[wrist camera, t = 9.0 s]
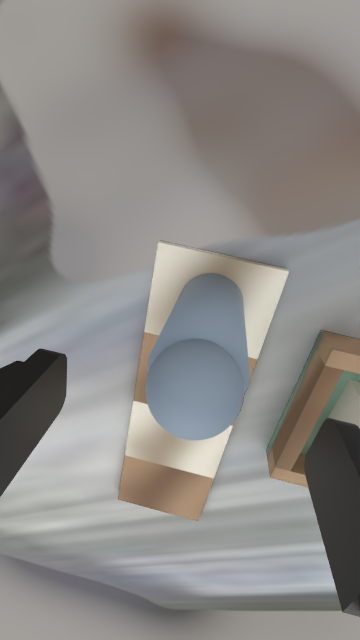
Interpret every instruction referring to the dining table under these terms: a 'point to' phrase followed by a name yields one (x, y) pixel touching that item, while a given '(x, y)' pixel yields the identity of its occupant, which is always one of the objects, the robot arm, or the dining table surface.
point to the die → (348, 404)
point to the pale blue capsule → (200, 361)
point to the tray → (312, 404)
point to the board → (144, 432)
